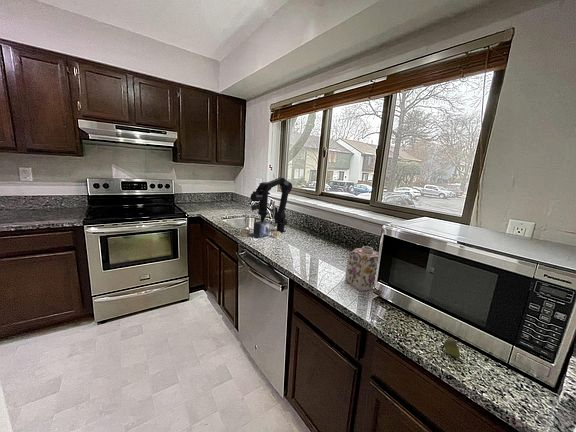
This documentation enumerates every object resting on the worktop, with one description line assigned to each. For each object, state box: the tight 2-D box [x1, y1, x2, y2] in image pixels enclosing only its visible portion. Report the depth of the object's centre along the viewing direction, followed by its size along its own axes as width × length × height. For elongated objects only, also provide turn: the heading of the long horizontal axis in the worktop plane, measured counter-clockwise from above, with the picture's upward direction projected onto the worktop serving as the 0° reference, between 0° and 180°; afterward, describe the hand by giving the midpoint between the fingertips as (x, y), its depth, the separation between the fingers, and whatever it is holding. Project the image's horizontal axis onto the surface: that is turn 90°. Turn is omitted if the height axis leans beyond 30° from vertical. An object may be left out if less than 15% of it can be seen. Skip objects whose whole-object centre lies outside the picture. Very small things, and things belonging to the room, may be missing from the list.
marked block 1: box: [241, 228, 251, 237], centre depth 176 cm, size 4×4×4 cm
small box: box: [252, 220, 271, 239], centre depth 177 cm, size 11×6×10 cm, turn 143°
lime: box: [443, 337, 461, 359], centre depth 72 cm, size 4×5×5 cm
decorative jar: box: [344, 245, 379, 292], centre depth 112 cm, size 12×12×18 cm
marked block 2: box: [272, 230, 281, 239], centre depth 179 cm, size 4×4×4 cm
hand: (262, 222), depth 176 cm, fingers closed, pressing on small box
